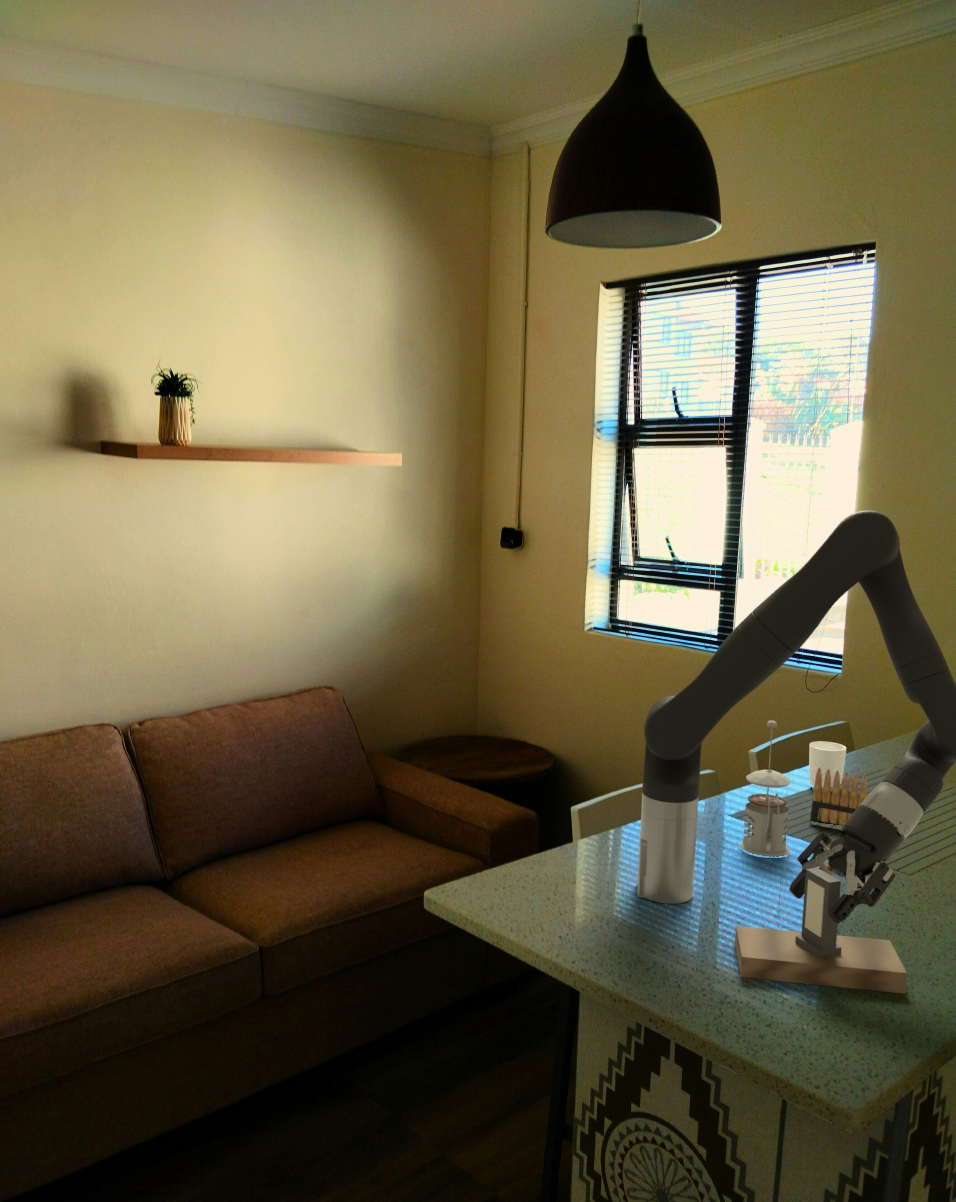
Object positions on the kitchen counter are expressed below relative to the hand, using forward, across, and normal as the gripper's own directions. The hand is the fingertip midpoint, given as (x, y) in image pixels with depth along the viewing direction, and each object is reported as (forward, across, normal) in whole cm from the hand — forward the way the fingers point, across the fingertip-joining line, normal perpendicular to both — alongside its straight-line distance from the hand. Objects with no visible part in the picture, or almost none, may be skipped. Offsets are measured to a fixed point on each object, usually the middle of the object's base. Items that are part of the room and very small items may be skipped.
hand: (812, 906), depth 144 cm
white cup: (-35, -69, +49) cm, 92 cm away
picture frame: (+3, 0, +6) cm, 7 cm away
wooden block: (+6, 0, +8) cm, 9 cm away
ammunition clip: (-25, -47, +38) cm, 65 cm away
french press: (-9, -41, +23) cm, 48 cm away
